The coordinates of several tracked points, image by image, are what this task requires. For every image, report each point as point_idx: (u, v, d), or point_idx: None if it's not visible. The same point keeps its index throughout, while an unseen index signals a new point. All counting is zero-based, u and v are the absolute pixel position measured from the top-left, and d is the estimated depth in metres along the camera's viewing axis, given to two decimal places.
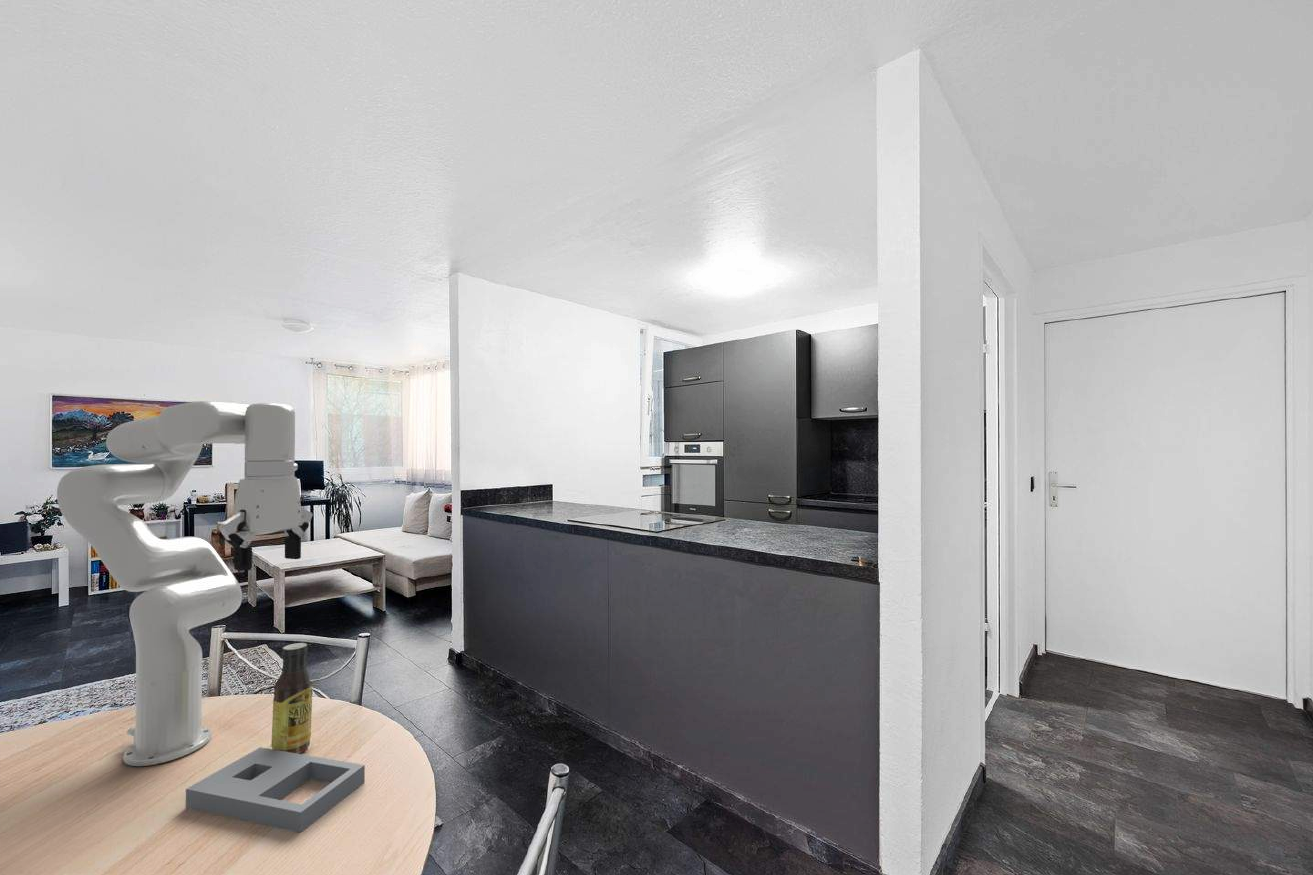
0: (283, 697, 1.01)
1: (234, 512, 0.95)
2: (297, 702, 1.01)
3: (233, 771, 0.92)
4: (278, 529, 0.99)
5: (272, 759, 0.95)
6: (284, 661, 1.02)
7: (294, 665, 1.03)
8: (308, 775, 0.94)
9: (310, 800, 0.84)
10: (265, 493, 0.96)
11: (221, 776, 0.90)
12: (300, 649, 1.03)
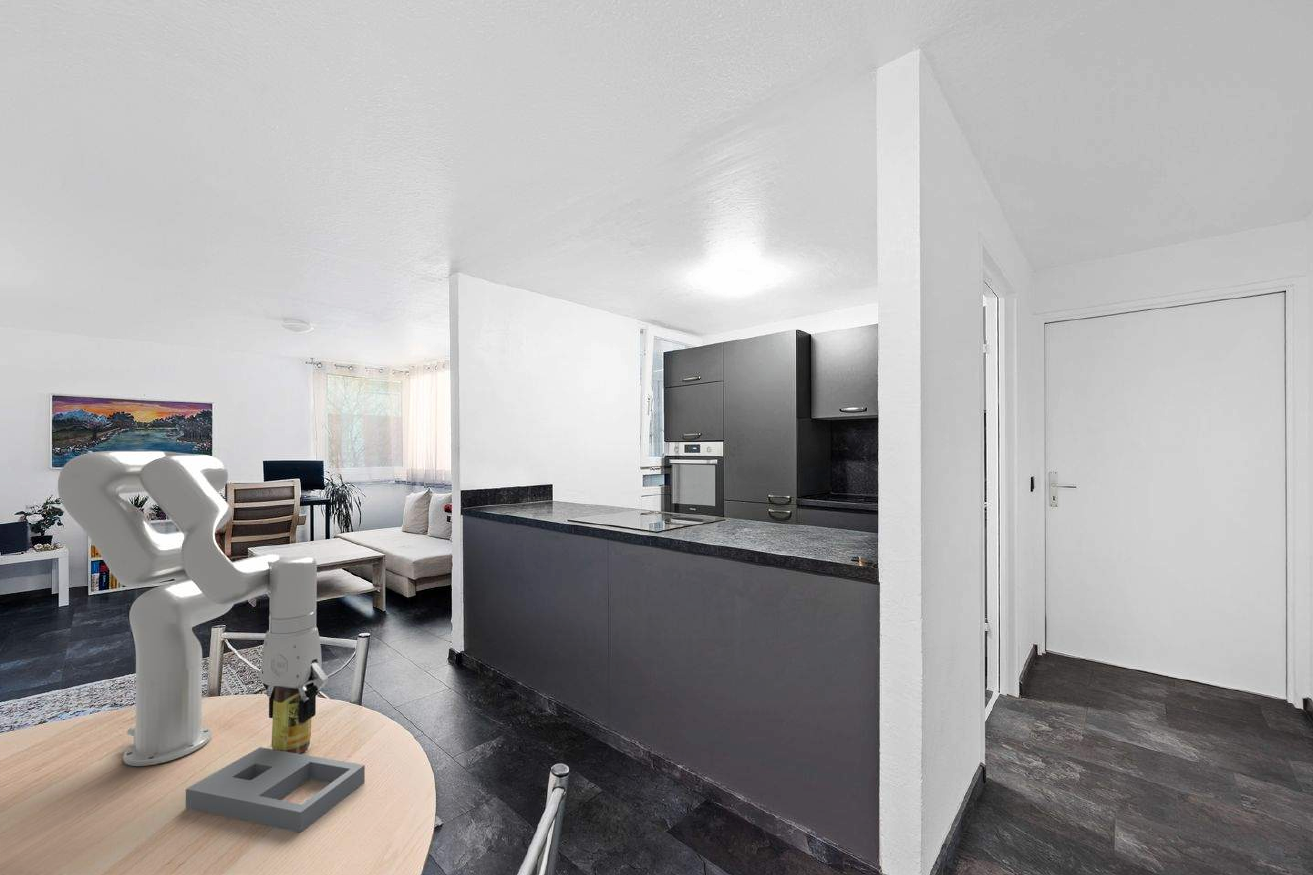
0: (283, 697, 1.01)
1: (305, 666, 1.00)
2: (297, 702, 1.01)
3: (233, 771, 0.92)
4: None
5: (272, 759, 0.95)
6: None
7: None
8: (308, 775, 0.94)
9: (310, 800, 0.84)
10: None
11: (221, 776, 0.90)
12: None
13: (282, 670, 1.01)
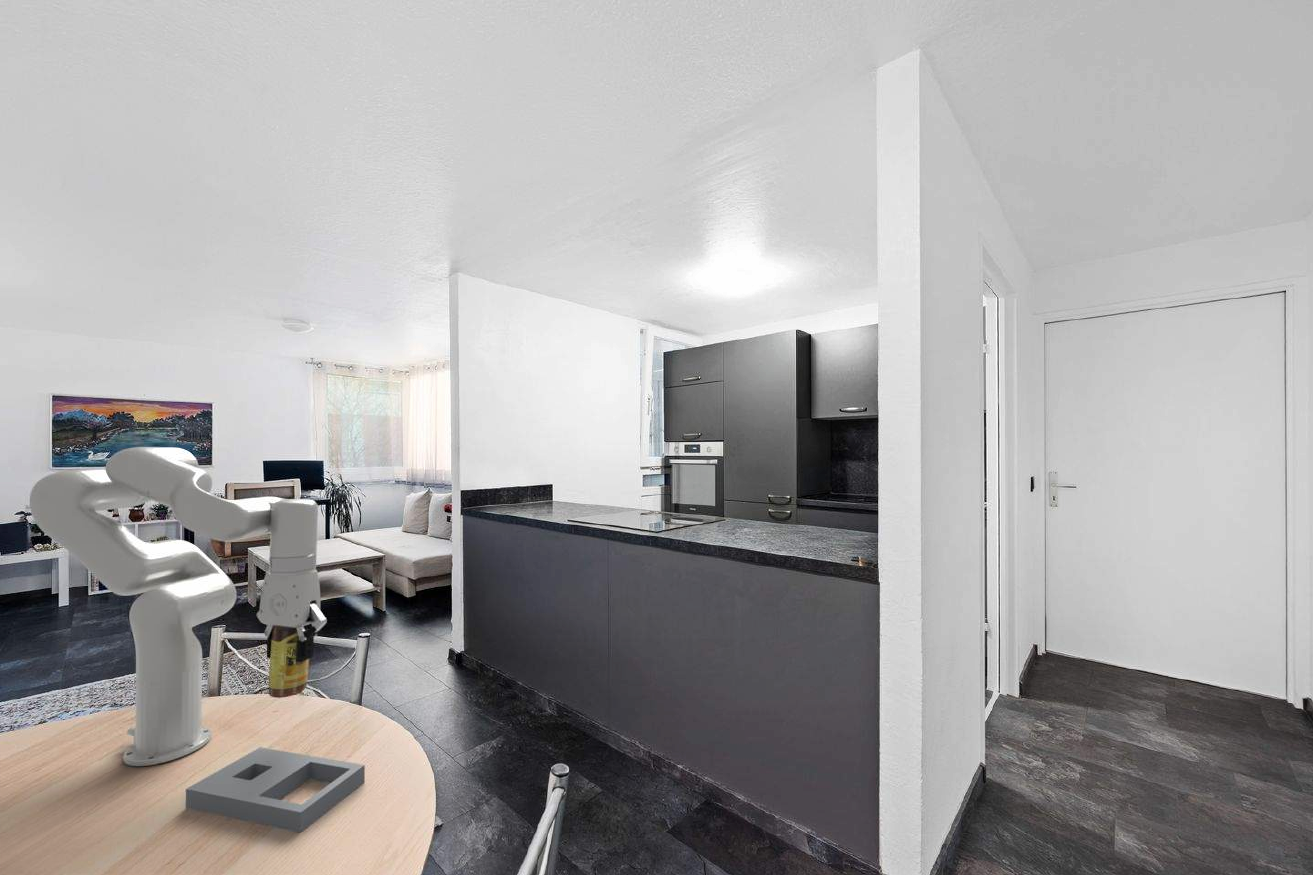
0: (281, 637, 1.01)
1: (303, 606, 1.01)
2: (295, 642, 1.02)
3: (233, 771, 0.92)
4: None
5: (272, 759, 0.95)
6: None
7: None
8: (308, 775, 0.94)
9: (310, 800, 0.84)
10: None
11: (221, 776, 0.90)
12: None
13: (281, 609, 1.01)
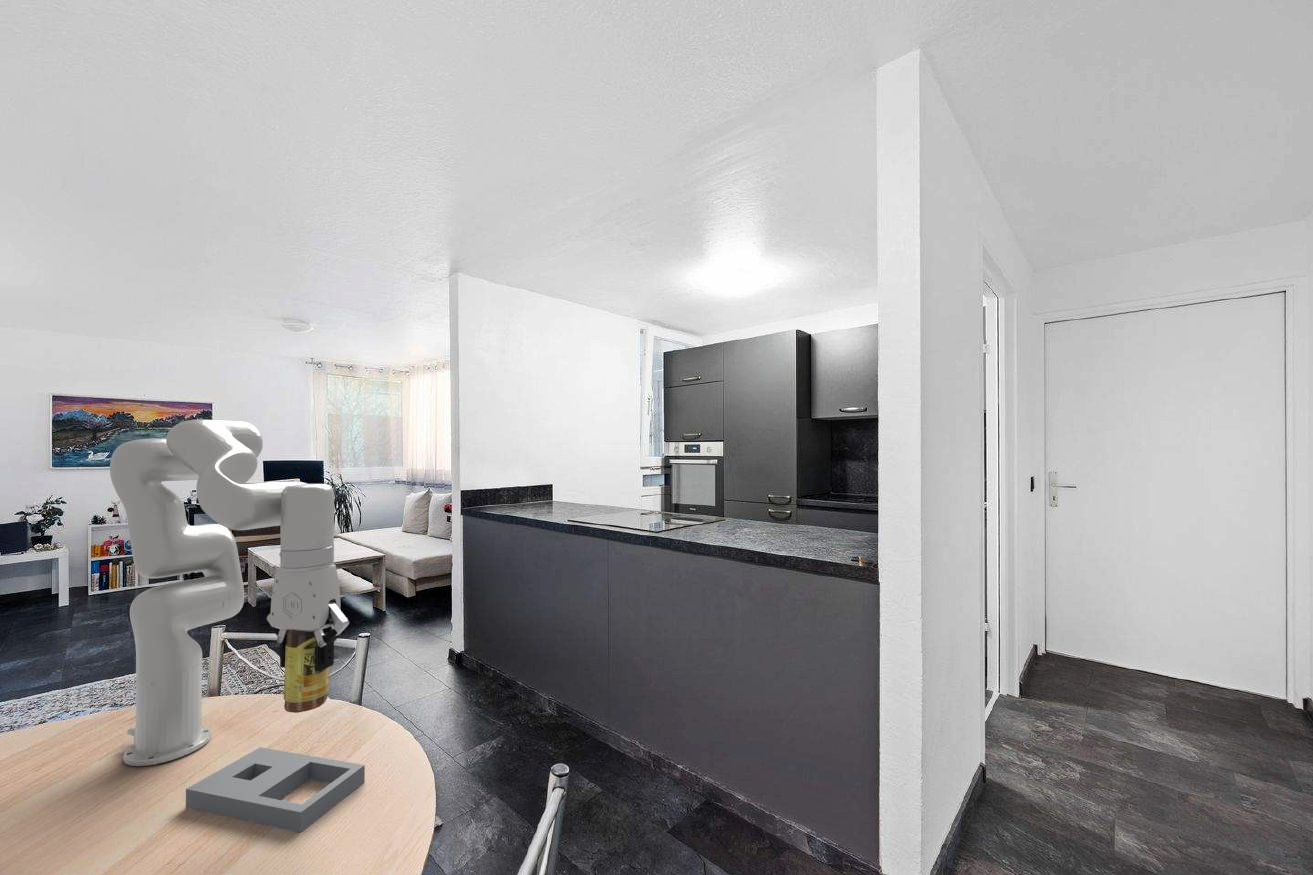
0: (297, 642, 0.87)
1: (322, 606, 0.87)
2: (313, 647, 0.88)
3: (233, 771, 0.92)
4: None
5: (272, 759, 0.95)
6: None
7: None
8: (308, 775, 0.94)
9: (310, 800, 0.84)
10: None
11: (221, 776, 0.90)
12: None
13: (296, 611, 0.87)
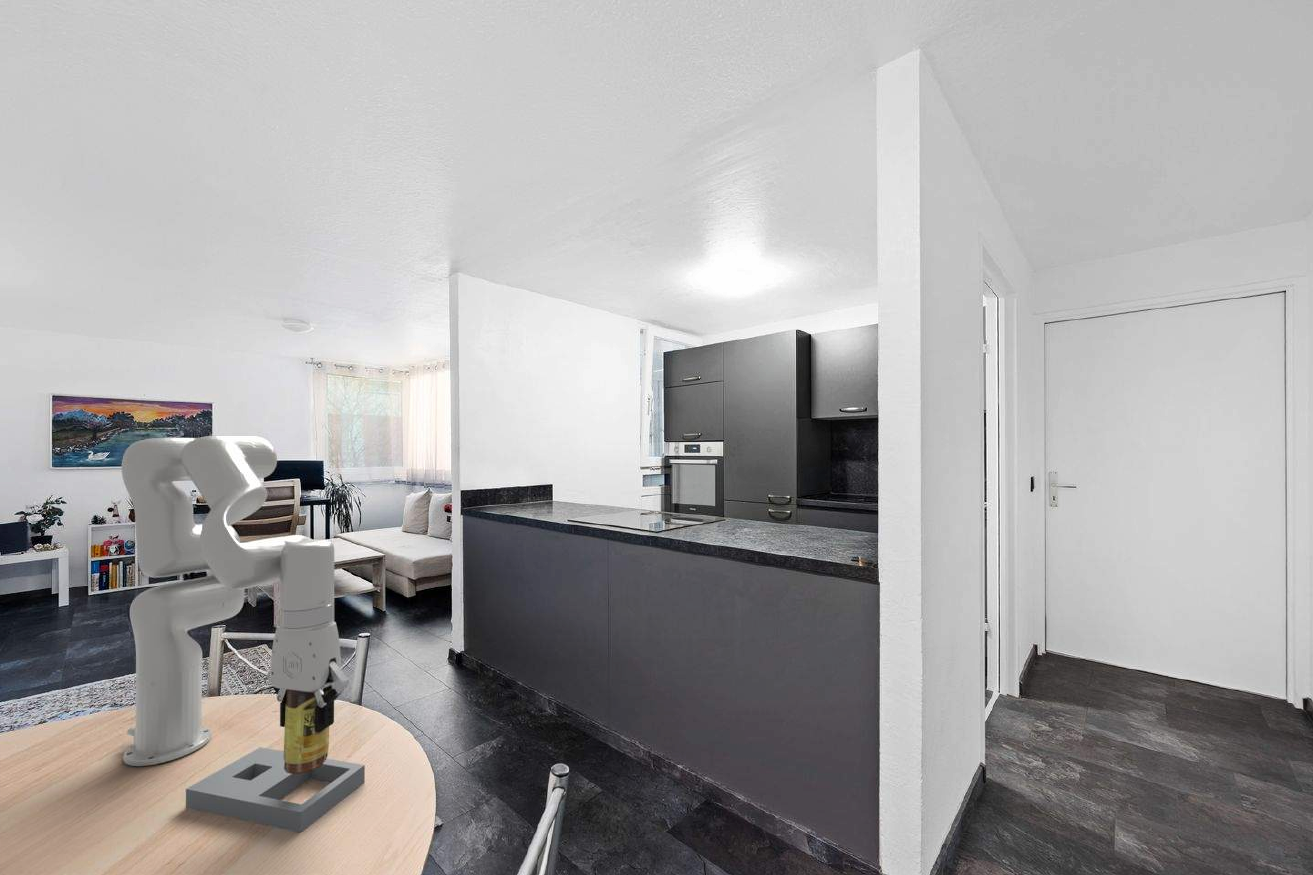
0: (297, 702, 0.86)
1: (322, 666, 0.86)
2: (313, 707, 0.87)
3: (233, 771, 0.92)
4: None
5: (272, 759, 0.95)
6: None
7: None
8: (308, 775, 0.94)
9: (310, 800, 0.84)
10: None
11: (221, 776, 0.90)
12: None
13: (296, 671, 0.86)
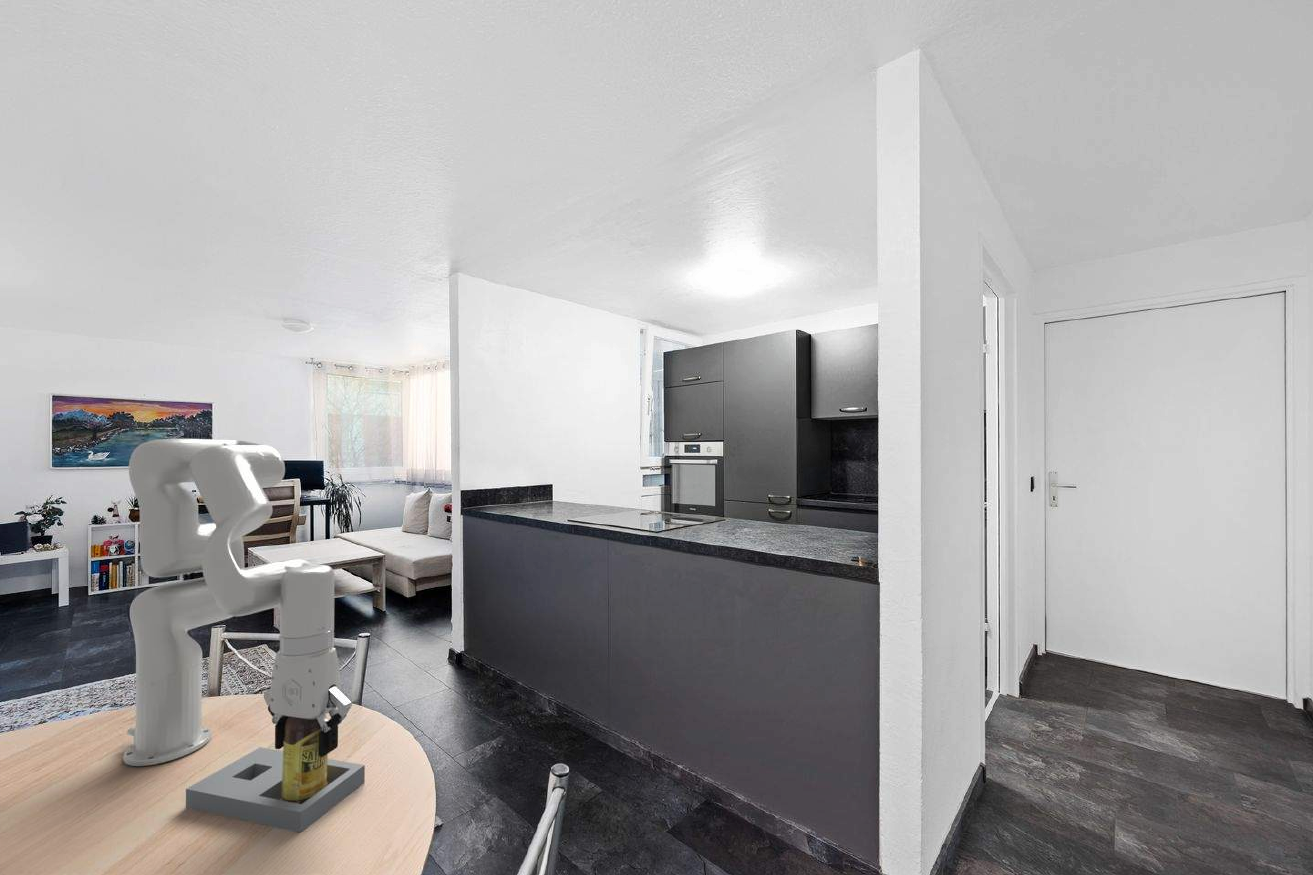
0: (295, 739, 0.86)
1: (321, 693, 0.86)
2: (311, 743, 0.87)
3: (233, 771, 0.92)
4: None
5: (272, 759, 0.95)
6: None
7: None
8: None
9: (310, 800, 0.84)
10: None
11: (221, 776, 0.90)
12: None
13: (295, 698, 0.86)
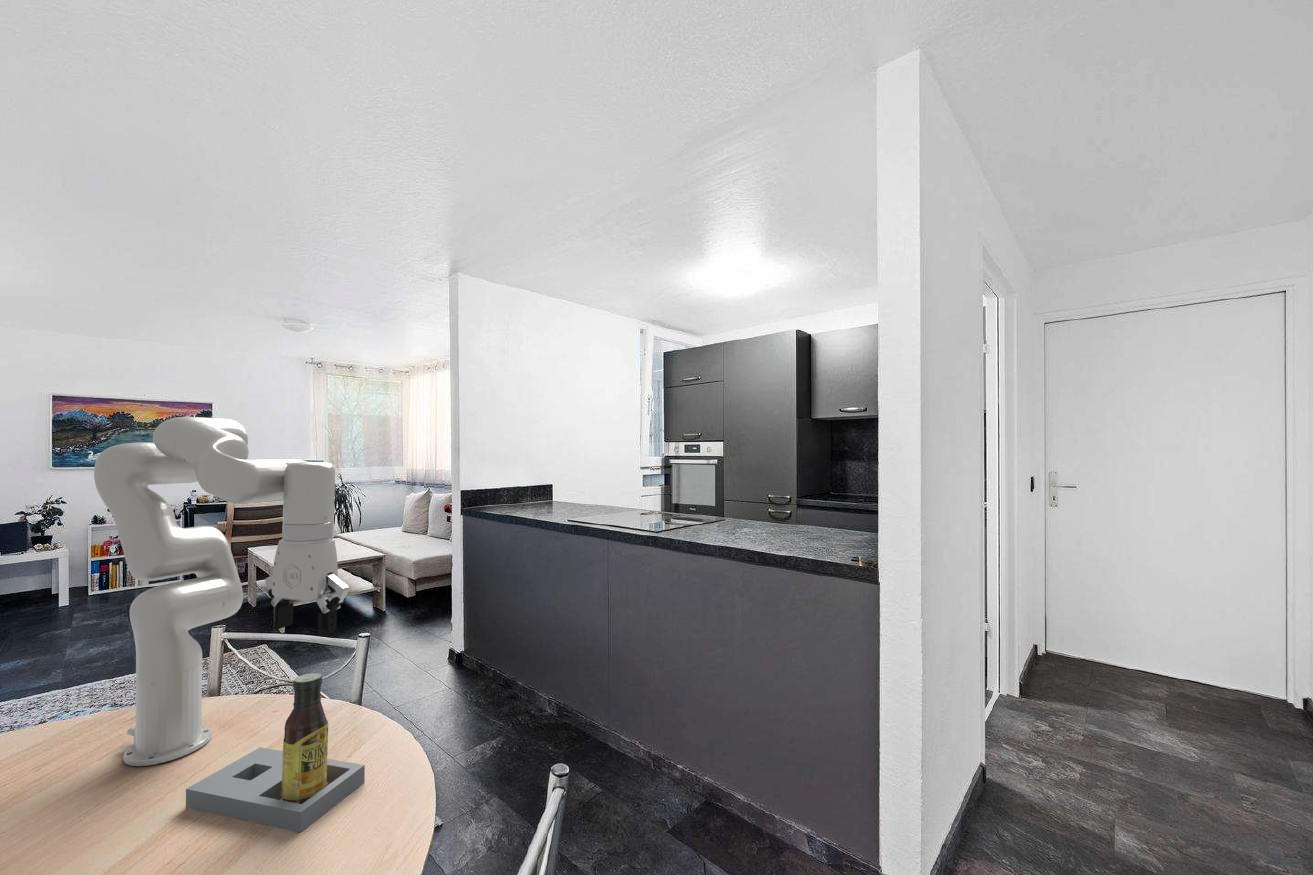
0: (295, 739, 0.86)
1: (319, 578, 0.91)
2: (311, 743, 0.87)
3: (233, 771, 0.92)
4: None
5: (272, 759, 0.95)
6: (296, 695, 0.88)
7: (308, 699, 0.88)
8: None
9: (310, 800, 0.84)
10: None
11: (221, 776, 0.90)
12: (314, 681, 0.89)
13: (295, 582, 0.91)
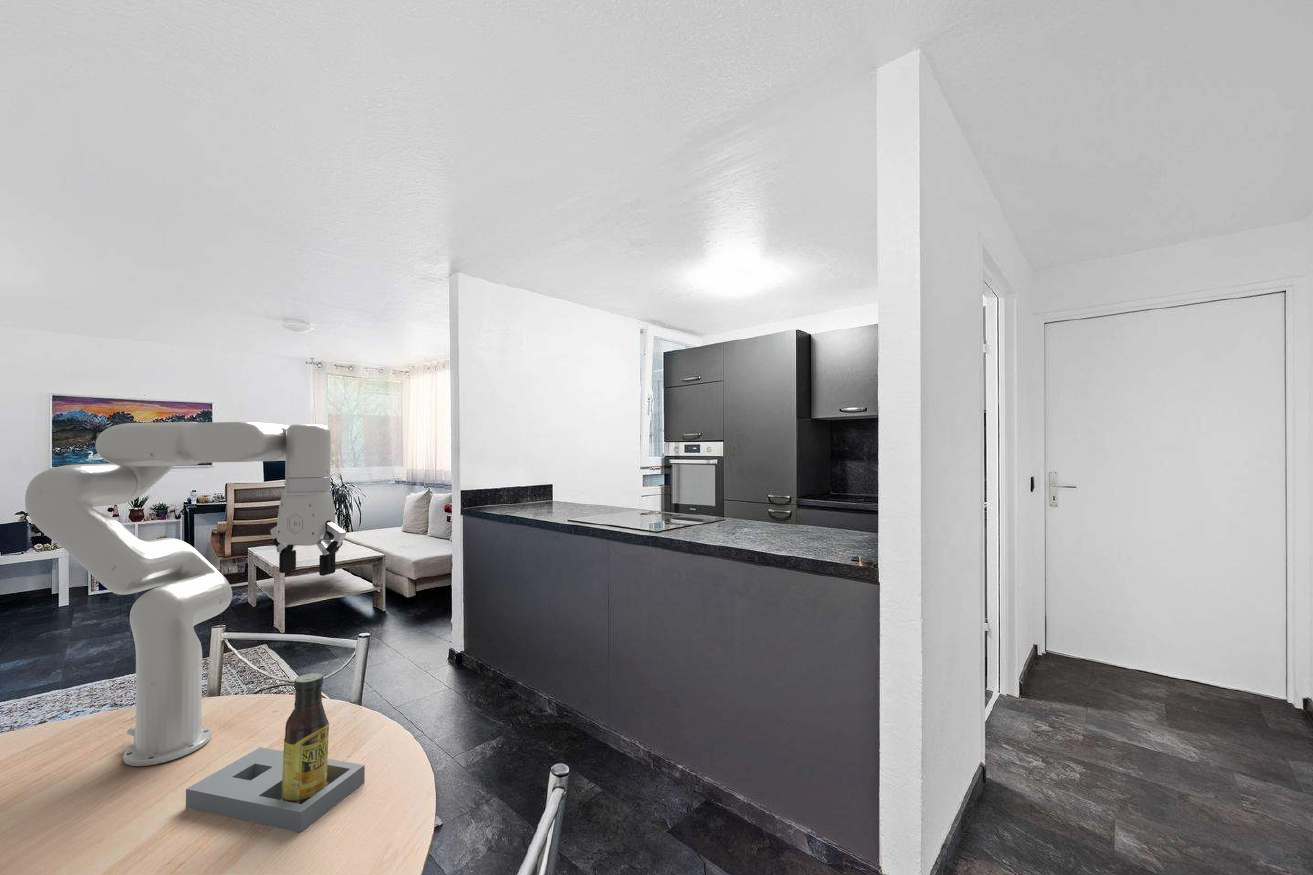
0: (295, 739, 0.86)
1: (319, 524, 1.04)
2: (311, 743, 0.87)
3: (233, 771, 0.92)
4: None
5: (272, 759, 0.95)
6: (297, 695, 0.88)
7: (309, 700, 0.88)
8: None
9: (310, 800, 0.84)
10: None
11: (221, 776, 0.90)
12: (315, 681, 0.89)
13: (298, 528, 1.04)
